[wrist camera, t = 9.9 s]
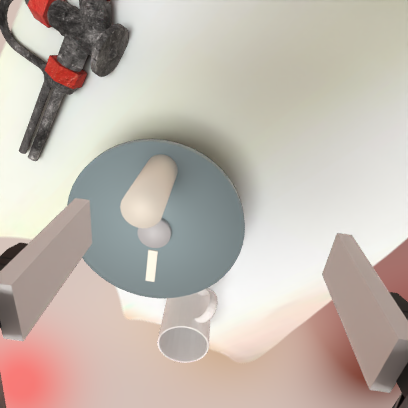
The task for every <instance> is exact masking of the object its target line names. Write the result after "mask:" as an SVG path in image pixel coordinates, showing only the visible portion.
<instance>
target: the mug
mask: <svg viewBox="0 0 408 408" xmlns="http://www.w3.org/2000/svg"><path fill="white" fill-rule="evenodd" d="M216 308H217V296H216V294H215V292H213V291H211V290H210V289H204V290H202V291H200V292H197V293H194V294H191V295H187V296H183V297H176V298H167V301H166V305H165V310H164V314H163V319H162V323H161V328H160V333H159V337H158V342H157V343H158V348H159V350H160V352H161V353H162V354H163V355H164V356H166V357H167V358H169V359H171V360H174V361H177V362H194V361H197V360H199V359H201V358H202V357H204V356H205V355H206V353H207V352H208V349H209V332H210V319H211V318H212V316H213V315H214V313H215V311H216Z"/></svg>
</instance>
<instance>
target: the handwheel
mask: <svg viewBox="0 0 408 408" xmlns="http://www.w3.org/2000/svg"><path fill="white" fill-rule="evenodd" d="M75 198H78V199H86V200H90V216H91V232H92V244H91V246H90V247H89V248H88V250H87V251H86V253H85V254H84V256H83V257H82V258H83V259H84V261H85V262H86V263H87V264H88V265H89V266H90V267H91V269H92V270H93V271H95V272H96V273H97V274H98V275H99V276H101V277H102V278H103V279H105V280H106V281H108V282H109V283H111V284H113V285H114V286H116V287H118V288H120V289H123V290H125V291H127V292H130V293H133V294H137V295H140V296H145V297H152V298H176V297H183V296H187V295H191V294H194V293H197V292H200V291H202V290H204V289H206V288H208V287H210V286H211V285H213V284H215V283H216V282H217V281H218V280H220V279H221V278H222V277H223V276H224V275H225V274H226V273H227V272H228V271H229V270H230V269H231V267H232V266H233V264H234V263H235V261H236V259H237V257H238V256H239V254H240V251H241V248H242V245H243V240H244V230H245V223H244V215H243V208H242V205H241V201H240V197H239V195H238V193H237V191H236V189H235V187H234V185H233V183H232V182H231V180H230V179H229V177H228V176H227V175H226V174H225V173H224V171H223V170H222V169H221V168H220V167H219V166H218V165H217V164H216V163H214V162H213V161H212V160H211V159H209V158H208V157H207V156H205V155H204V154H202V153H200V152H198V151H197V150H195V149H193V148H191V147H188V146H185V145H183V144H180V143H176V142H172V141H168V140H159V139H140V140H134V141H129V142H125V143H122V144H119V145H117V146H114V147H112V148H110V149H108V150H106V151H105V152H103V153H102V154H100V155H99V156H98V157H96V158H95V159H94V160H93V161H92V162H91V163H90V164H88V165H87V166H86V167H85V168H84V169H83V171H82V172H81V173H80V174H79V176H78V177H77V179H76V181H75V183H74V184H73V186H72V189H71V192H70V195H69V199H68V204H67V206H68V205H69V204H70V203H71V202H72V201H73V200H74V199H75Z"/></svg>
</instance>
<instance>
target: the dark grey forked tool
mask: <svg viewBox="0 0 408 408" xmlns="http://www.w3.org/2000/svg"><path fill="white" fill-rule="evenodd" d="M12 1H13V0H0V29H1V32H2V34H3V36H4V38H5V39H6V41H7V42H8V44H9V45H10V46H11V47H12V48H13V49H14V50H15V51H16V52H18V53H19V54H20V55H22V56H23V57H25V58H26V59H27V60H29V61H30V62H32V63H33V64H34V65H36V66H37V67H39V68H40V69H41V70H42V72H43V74H44V83H43V86H42V88H41V91H40V94H39V97H38V99H37V102H36V105H35V108H34V110H33V113H32V116H31V119H30V121H29V124H28V127H27V130H26V132H25V135H24V138H23V141H22V143H21V146H20V149H19V152H20V153H23V154H25V153H26V152H27V150H28V147H29V144H30V142H31V139H32V136H33V134H34V131H35V129H36V126H37V123H38V121H39V118H40V115H41V113H42V110H43V107H44V105H45V102H46V99H47V97H48V94H49V92H50V89H51V87H52V88H53V89H54V90H53V93H52V95H51V98H50V100H49V103H48V106H47V108H46V111H45V113H44V116H43V119H42V121H41V124H40V126H39V129H38V132H37V134H36V137H35V139H34V142H33V145H32V147H31V150H30V153H29V155H28V158H29V159H31V160H33V161H37V160H38V158H39V155H40V153H41V150H42V148H43V146H44V143H45V141H46V138H47V136H48V133H49V131H50V128H51V126H52V123H53V121H54V118H55V116H56V113H57V111H58V108H59V106H60V103H61V101H62V98H63V96H64V94H73V92H74V91H75V90H76V89H77V88H80V87H82V85H83V82H84V80H85V78H86V75H87V73H86V72H85V71H84V70H83V66H84V64H85V61H86V59H87V56H88V54H89V55H90V56H91V69H92V71H93V72H94V73H95V74H97V75H98V76H100V77H103V76H106V75H108V74H109V73H110V72H112V71H113V70H114V68H115V67H116V66H117V65H118V63H119V61H120V59H121V57H122V55H123V53H124V51H125V49H126V47H127V44H128V38H129V35H128V30H127V29H126V28H125V27H124V26H122V25H121V24H114V25H112V26H111V3H108V2H107V1H110V0H79V5H80V9H78V8H77V7H75V6H71V5H70V4H69V3H67V2H65V0H25V2H26V4H27V6H28V7H29V9H30V11H31V13H32V14H33V16H34V18H35V19H37V20H38V21H40V22H41V23H42V24H44V25H45V26H46V27H48V28H50V27H53V28H55V29H56V30H58V31H59V32H60V34H61V35H62V36H64V40H63V43H62V45H61V48H60V51H59V54H58V55H50V56H49V59H48V62H47V64H46V63H45V62H43V61H42V60H41V59H39V58H38V57H37V56H35V55H34V54H32V53H31V52H30V51H28V50H27V49H25V48H24V47H23V46H21V45H20V44H19V43H18V42H17V41H16V40H15V39H14V38H13V36H12V34H11V33H10V30H9V27H8V22H7V11H8V7H9V5H10V3H11V2H12Z"/></svg>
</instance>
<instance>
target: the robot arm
mask: <svg viewBox="0 0 408 408" xmlns="http://www.w3.org/2000/svg"><path fill="white" fill-rule="evenodd" d="M91 244H92V232H91V216H90V200H86V199H78V198H75V199H74V200H73V201H72V202H71V203H70V204H69V205H68V206H67V207H66V208H65V209H64V210H63V211H62V212H61V213H59V214H58V215H57V216H56V217H55V218H54V219H53V220H52V221H51V222H50V223H49V224H48V225H47V226H46V227H45V228H44V229H43V230H42V231H41V232H40V233H39V234H38V235H37V236H36V237H35V238H34V239H33V240H32V241H31V242H30V243H29V244H26V243H19V244H17V245H15V246H13V247H11V248H9V249H7V250H6V251H5V252H4V253H3V254H2V255H1V256H0V328H1V330H2V334H3V338H5V339H11V340H19V341H24V339H25V338H26V337H27V335H28V334H29V332H30V331H31V330H32V328H33V327H34V325H35V324H36V322H37V321H38V320H39V318H40V317H41V315H42V314H43V312H44V311H45V310H46V308H47V307H48V305H49V304H50V302H51V301H52V300H53V298H54V297H55V295H56V294H57V293H58V291H59V290H60V288H61V287H62V285H63V284H64V283H65V281H66V280H67V278H68V277H69V276H70V274H71V273H72V271H73V270H74V268H75V267H76V266H77V264H78V263H79V261H80V260H81V258H82V257H83V256H84V254H85V253H86V251H87V250H88V248H89V247H90V246H91ZM322 275H323V278H324V280H325V283H326V285H327V288H328V290H329V292H330V295H331V297H332V300H333V302H334V305H335V307H336V309H337V312H338V314H339V317H340V319H341V321H342V324H343V326H344V329H345V331H346V334H347V336H348V338H349V341H350V343H351V346H352V348H353V351H354V353H355V356H356V358H357V360H358V363H359V365H360V368H361V370H362V372H363V375H364V377H365V380H366V382H367V385H368V387H369V389H370V390H375V391H382V392H389V393H390V392H391V390H392V389H393V387H394V386H395V384H396V382H397V384H398V386H399V388H400V390H401V392H402V393H401V395H400V397H399V398H398V400H397V401H396V403H395V404H394V406H393V407H392V408H408V302H407V301H406V300H405V299H403V298H402V297H401V296H399V294H397V293H392V292H389V291H388V290H387V288H386V287H385V285H384V284H383V282H382V281H381V279H380V278H379V276H378V275H377V273H376V272H375V270H374V268H373V267H372V265H371V264H370V262H369V261H368V259H367V258H366V256H365V255H364V253H363V252H362V250H361V249H360V247H359V246H358V244H357V242H356V241H355V239H354V238H353V236H352V235H347V234H340V233H337V235H336V237H335V240H334V243H333V246H332V248H331V251H330V254H329V257H328V259H327V262H326V265H325V268H324V271H323V273H322ZM0 408H6V404H5V398H4V392H3V386H2V380H1V375H0Z"/></svg>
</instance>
